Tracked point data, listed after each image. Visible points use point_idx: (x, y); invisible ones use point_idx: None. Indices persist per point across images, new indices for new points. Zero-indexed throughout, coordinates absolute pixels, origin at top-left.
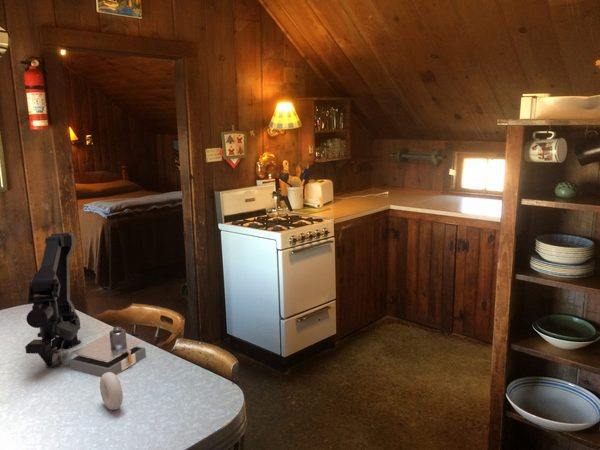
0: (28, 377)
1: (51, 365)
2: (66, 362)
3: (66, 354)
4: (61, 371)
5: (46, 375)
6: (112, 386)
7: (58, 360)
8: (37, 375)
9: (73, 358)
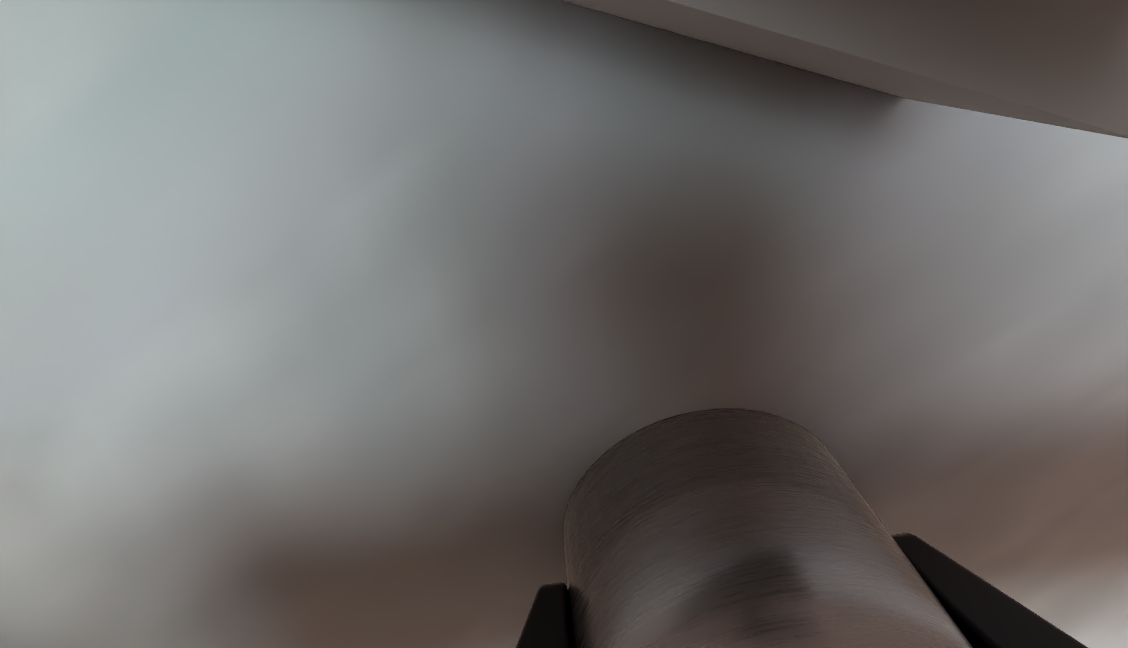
0: (1104, 605)
1: (896, 536)
2: (569, 402)
3: (258, 593)
4: (994, 247)
5: (1111, 417)
6: None
7: (843, 521)
8: (1068, 540)
9: (1019, 58)
